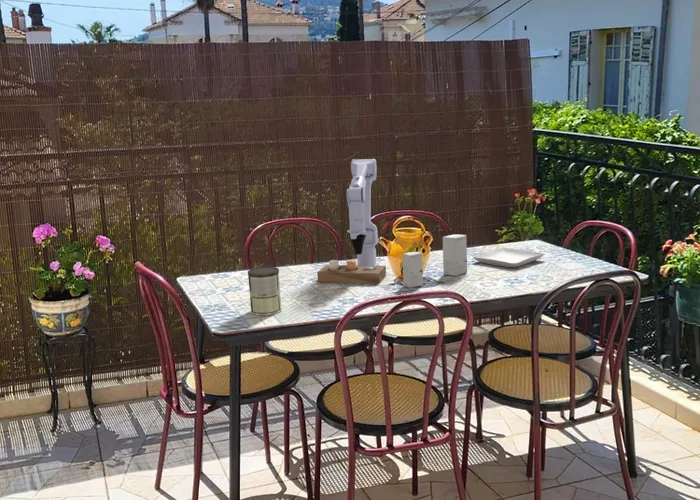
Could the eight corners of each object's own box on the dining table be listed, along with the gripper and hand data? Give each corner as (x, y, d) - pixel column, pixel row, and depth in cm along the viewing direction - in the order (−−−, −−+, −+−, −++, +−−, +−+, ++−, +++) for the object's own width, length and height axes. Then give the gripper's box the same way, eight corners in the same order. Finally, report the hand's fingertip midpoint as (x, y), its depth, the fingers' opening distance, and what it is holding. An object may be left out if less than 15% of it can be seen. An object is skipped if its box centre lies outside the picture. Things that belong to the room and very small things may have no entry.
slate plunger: (366, 277, 277) (365, 266, 276) (375, 277, 276) (375, 266, 275) (364, 280, 274) (363, 268, 273) (373, 280, 273) (372, 269, 272)
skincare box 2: (455, 276, 273) (454, 238, 270) (442, 274, 277) (441, 236, 274) (467, 272, 279) (467, 234, 276) (455, 270, 283) (454, 233, 280)
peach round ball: (348, 271, 278) (348, 260, 277) (357, 271, 277) (357, 260, 276) (346, 273, 275) (345, 262, 274) (355, 273, 274) (354, 262, 273)
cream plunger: (331, 270, 280) (330, 260, 279) (340, 271, 279) (339, 260, 278) (328, 273, 277) (328, 262, 276) (337, 273, 276) (337, 262, 275)
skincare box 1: (410, 288, 260) (409, 255, 258) (402, 285, 264) (401, 253, 261) (423, 285, 263) (422, 252, 261) (416, 282, 267) (415, 250, 264)
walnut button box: (326, 274, 286) (326, 264, 285) (386, 275, 279) (385, 265, 278) (317, 282, 274) (317, 272, 273) (379, 283, 268) (378, 273, 267)
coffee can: (245, 311, 241) (241, 270, 238) (271, 305, 247) (268, 265, 244) (260, 317, 233) (257, 275, 230) (287, 311, 239) (284, 269, 236)
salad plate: (471, 263, 294) (471, 255, 293) (502, 254, 308) (502, 246, 307) (514, 271, 278) (514, 262, 278) (545, 261, 292) (545, 253, 291)
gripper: (351, 215, 279) (352, 249, 282) (341, 222, 265) (343, 258, 268) (369, 215, 277) (370, 250, 280) (360, 222, 263) (362, 258, 266)
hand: (358, 254), depth 274 cm, fingers closed
